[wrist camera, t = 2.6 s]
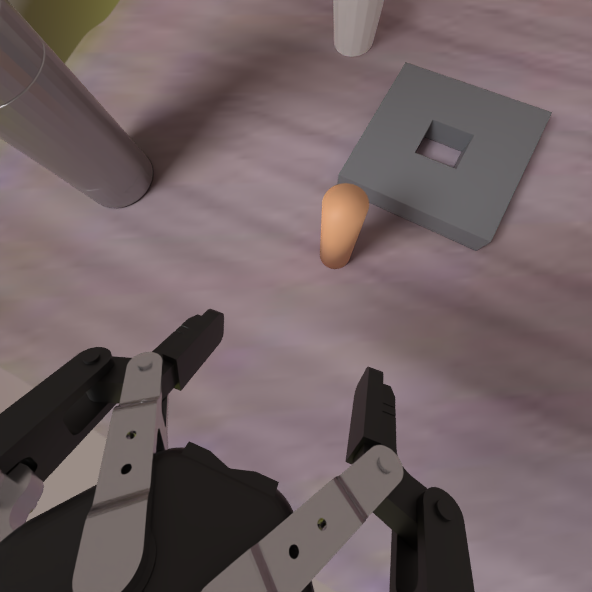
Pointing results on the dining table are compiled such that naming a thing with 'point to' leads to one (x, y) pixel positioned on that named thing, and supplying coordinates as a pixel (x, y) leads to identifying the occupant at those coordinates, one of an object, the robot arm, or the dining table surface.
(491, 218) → the peg board
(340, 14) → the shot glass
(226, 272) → the dining table surface
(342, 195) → the peg
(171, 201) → the dining table surface
